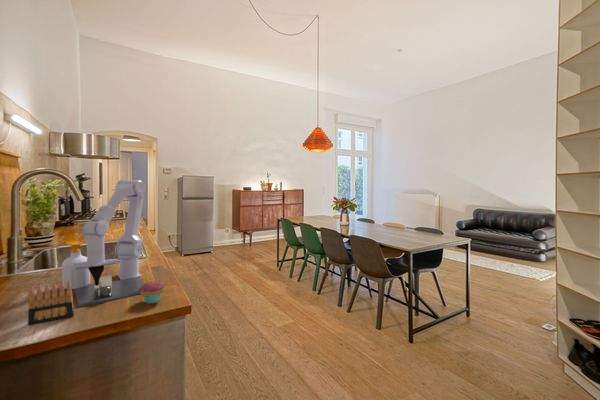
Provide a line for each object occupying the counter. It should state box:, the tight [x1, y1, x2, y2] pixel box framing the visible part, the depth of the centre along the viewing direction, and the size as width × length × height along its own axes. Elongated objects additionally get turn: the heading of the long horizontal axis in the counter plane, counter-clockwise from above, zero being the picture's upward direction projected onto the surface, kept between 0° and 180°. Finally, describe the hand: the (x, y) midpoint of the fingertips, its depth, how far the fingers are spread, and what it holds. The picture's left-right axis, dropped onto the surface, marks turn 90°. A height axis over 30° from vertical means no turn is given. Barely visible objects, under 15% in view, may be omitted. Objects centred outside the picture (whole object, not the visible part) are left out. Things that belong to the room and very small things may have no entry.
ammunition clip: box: [27, 280, 75, 327], centre depth 89 cm, size 11×2×12 cm, turn 125°
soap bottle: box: [61, 226, 91, 290], centre depth 117 cm, size 9×9×25 cm
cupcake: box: [139, 269, 166, 304], centre depth 104 cm, size 9×8×12 cm
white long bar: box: [98, 274, 113, 298], centre depth 110 cm, size 18×4×3 cm, turn 34°
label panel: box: [74, 277, 145, 308], centre depth 112 cm, size 18×22×2 cm
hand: (96, 284), depth 113 cm, fingers closed
